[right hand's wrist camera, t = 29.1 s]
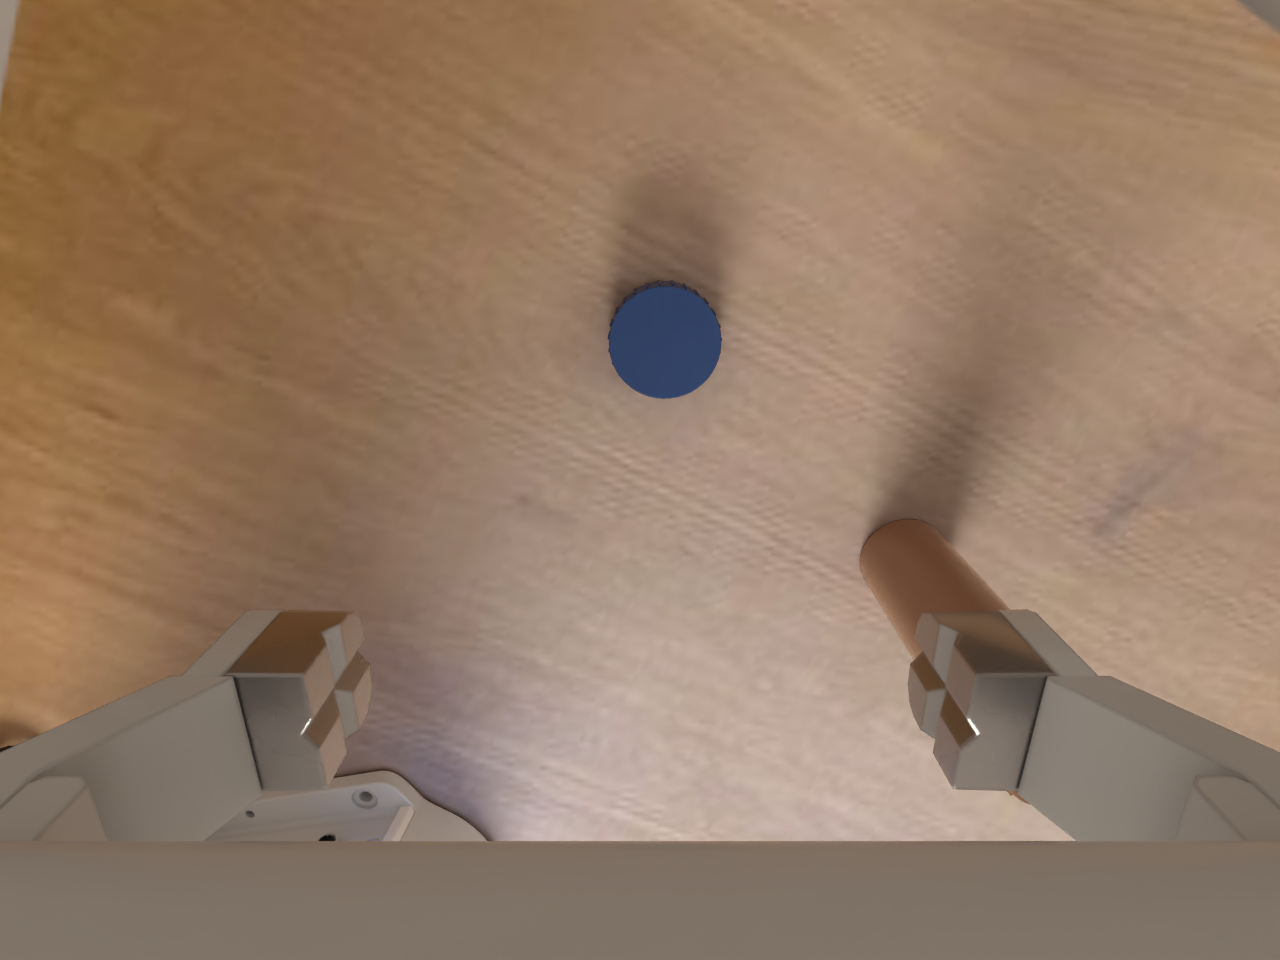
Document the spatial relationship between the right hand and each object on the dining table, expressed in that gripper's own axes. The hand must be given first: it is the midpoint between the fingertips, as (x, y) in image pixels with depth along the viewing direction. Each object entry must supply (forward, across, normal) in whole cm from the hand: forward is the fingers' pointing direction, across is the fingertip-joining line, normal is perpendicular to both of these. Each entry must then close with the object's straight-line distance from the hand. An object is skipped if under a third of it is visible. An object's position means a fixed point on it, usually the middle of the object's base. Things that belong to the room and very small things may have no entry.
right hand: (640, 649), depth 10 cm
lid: (+25, +1, 0) cm, 25 cm away
